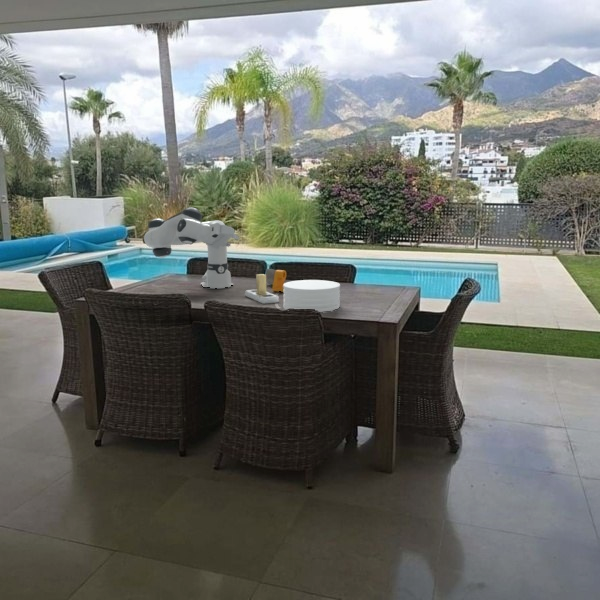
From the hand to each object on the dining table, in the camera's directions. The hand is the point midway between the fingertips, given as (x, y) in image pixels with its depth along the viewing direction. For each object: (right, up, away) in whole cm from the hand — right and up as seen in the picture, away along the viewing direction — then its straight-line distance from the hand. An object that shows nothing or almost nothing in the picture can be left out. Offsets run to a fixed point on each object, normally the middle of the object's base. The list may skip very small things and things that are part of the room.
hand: (234, 241), depth 300 cm
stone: (+19, -22, +49) cm, 57 cm away
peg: (+14, -29, +9) cm, 34 cm away
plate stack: (+40, -34, -11) cm, 53 cm away
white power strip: (+14, -29, +9) cm, 34 cm away
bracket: (+24, -25, +31) cm, 47 cm away
